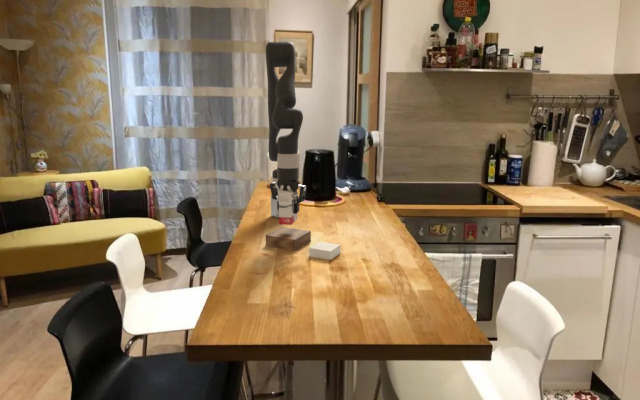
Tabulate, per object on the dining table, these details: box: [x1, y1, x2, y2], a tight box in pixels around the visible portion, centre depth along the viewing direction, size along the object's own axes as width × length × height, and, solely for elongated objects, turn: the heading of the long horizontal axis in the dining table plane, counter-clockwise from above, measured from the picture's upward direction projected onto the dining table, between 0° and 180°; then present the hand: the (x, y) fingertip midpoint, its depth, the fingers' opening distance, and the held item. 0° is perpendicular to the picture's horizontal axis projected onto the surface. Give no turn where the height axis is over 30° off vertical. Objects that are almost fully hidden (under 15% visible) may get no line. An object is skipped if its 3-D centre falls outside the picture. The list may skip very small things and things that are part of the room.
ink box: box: [278, 190, 298, 226], centre depth 184 cm, size 9×5×12 cm, turn 168°
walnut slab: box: [265, 226, 312, 251], centre depth 187 cm, size 12×12×4 cm
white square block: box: [308, 241, 342, 261], centre depth 176 cm, size 8×8×3 cm
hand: (288, 212), depth 185 cm, fingers closed on ink box, 5 cm apart
